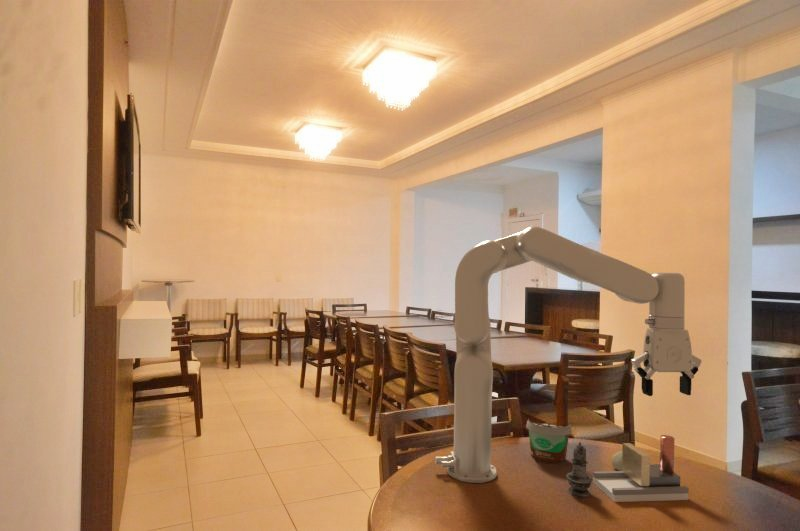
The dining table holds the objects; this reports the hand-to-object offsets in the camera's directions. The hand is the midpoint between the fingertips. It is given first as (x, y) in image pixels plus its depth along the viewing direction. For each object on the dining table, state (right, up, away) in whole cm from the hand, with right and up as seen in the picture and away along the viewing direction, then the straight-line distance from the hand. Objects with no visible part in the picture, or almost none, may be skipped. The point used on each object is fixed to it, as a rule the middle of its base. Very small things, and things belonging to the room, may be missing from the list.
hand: (666, 394), depth 117 cm
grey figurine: (-22, -23, -2) cm, 32 cm away
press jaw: (-4, -21, -1) cm, 22 cm away
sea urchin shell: (-3, -24, +11) cm, 26 cm away
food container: (-24, -23, +16) cm, 37 cm away
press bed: (-7, -23, -1) cm, 24 cm away
